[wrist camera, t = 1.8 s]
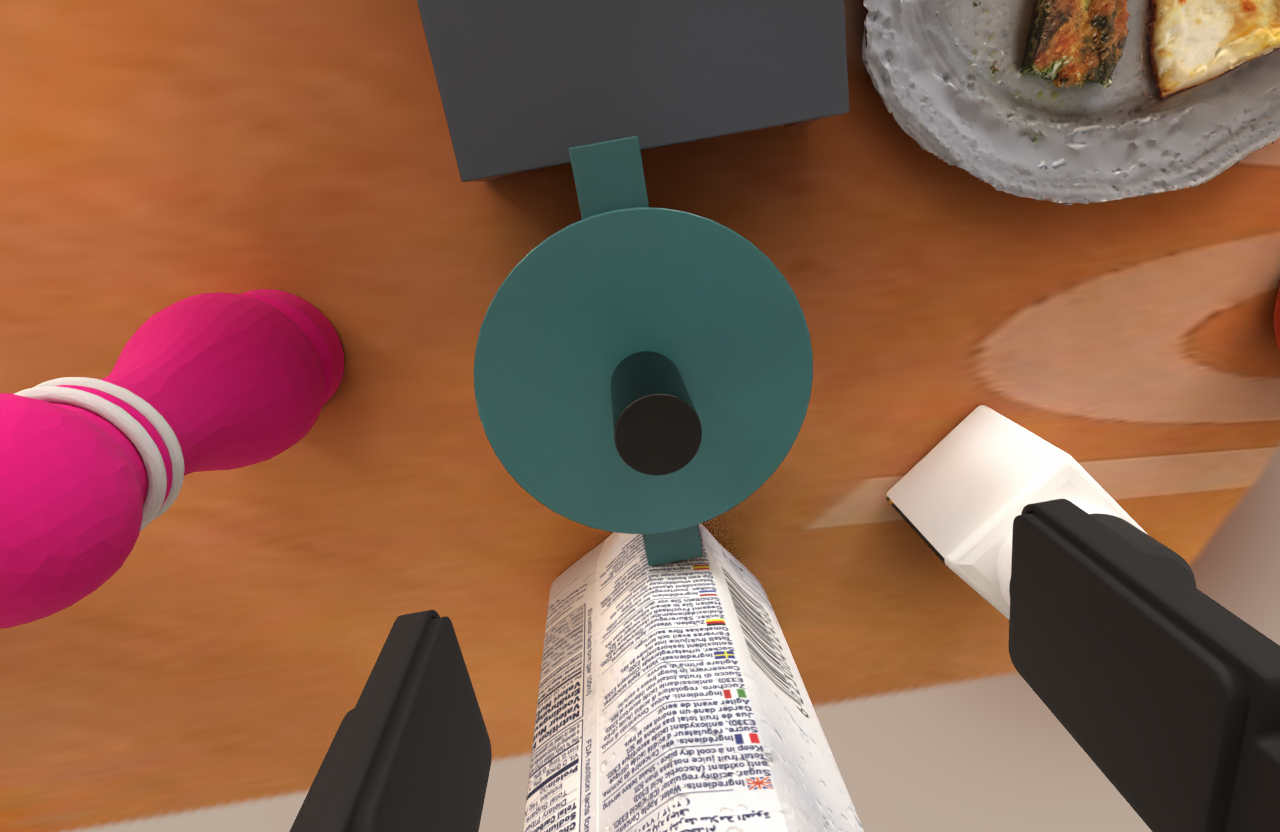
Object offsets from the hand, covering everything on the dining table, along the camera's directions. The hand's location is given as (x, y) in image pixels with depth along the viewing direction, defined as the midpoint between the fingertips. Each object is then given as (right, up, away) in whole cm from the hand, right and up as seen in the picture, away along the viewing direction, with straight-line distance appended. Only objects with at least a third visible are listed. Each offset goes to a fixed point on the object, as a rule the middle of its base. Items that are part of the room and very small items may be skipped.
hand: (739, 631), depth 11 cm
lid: (-1, +5, +14) cm, 15 cm away
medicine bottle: (+17, 0, +26) cm, 31 cm away
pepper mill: (-19, +7, +21) cm, 29 cm away
